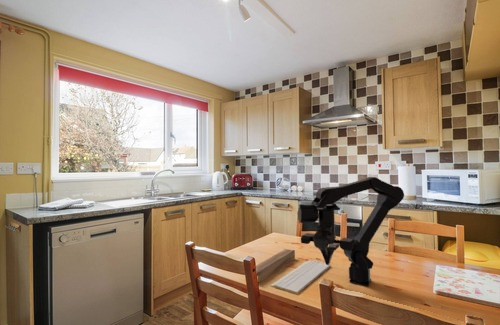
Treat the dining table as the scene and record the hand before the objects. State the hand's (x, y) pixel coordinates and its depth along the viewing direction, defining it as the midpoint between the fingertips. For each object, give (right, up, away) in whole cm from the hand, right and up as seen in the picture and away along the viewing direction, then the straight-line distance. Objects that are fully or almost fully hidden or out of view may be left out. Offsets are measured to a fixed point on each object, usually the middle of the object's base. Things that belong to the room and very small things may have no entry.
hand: (327, 264), depth 95 cm
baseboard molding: (-8, -8, +7) cm, 13 cm away
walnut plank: (-19, -7, +14) cm, 25 cm away
